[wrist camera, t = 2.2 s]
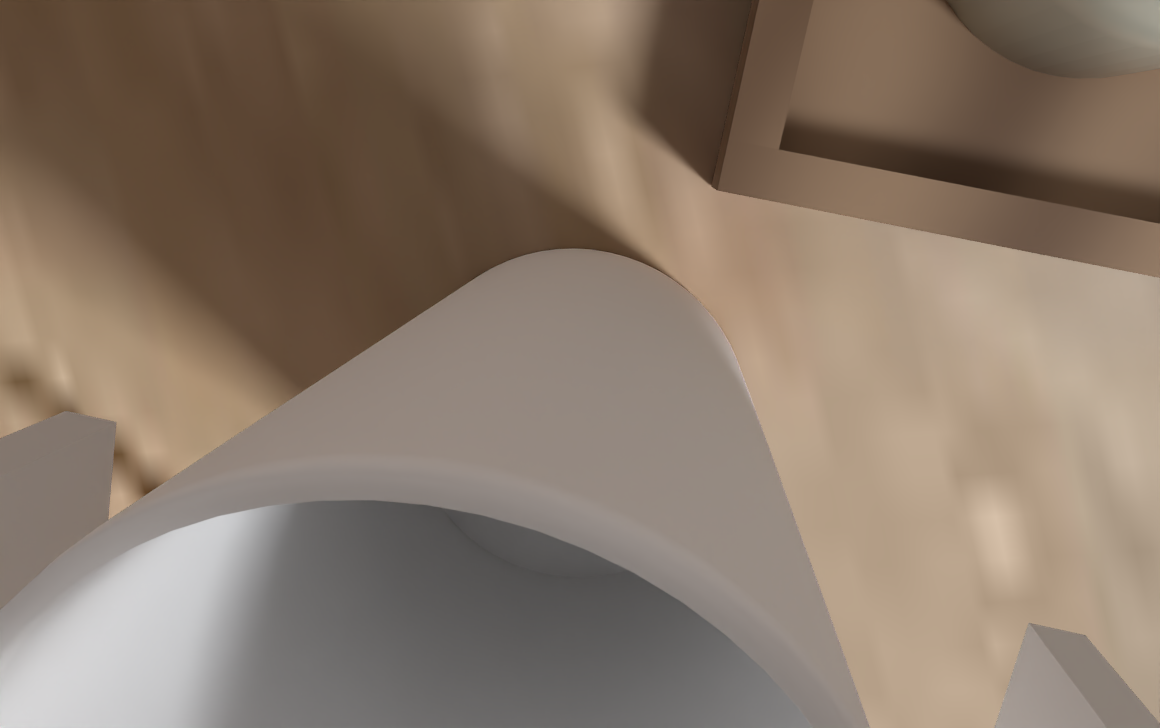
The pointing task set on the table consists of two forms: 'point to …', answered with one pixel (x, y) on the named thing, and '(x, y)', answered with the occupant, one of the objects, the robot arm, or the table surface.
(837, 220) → the table surface
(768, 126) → the caddy
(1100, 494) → the table surface
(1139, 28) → the pale green rounded cylinder
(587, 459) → the cup
